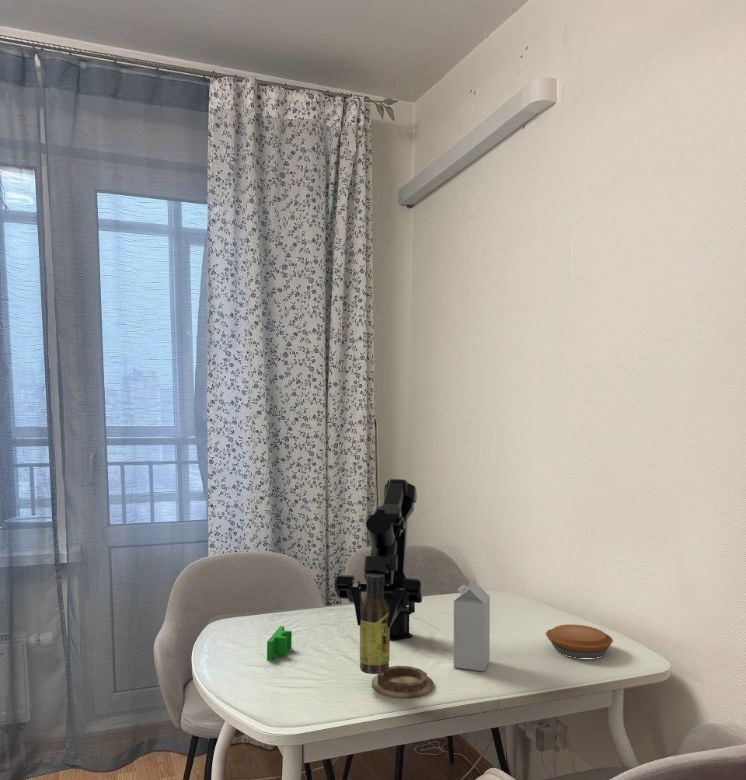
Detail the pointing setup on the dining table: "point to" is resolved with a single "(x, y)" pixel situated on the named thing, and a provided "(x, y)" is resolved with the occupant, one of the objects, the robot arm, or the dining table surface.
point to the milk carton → (472, 628)
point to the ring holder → (402, 682)
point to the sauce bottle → (374, 627)
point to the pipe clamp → (279, 643)
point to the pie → (579, 641)
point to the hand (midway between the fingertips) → (373, 625)
